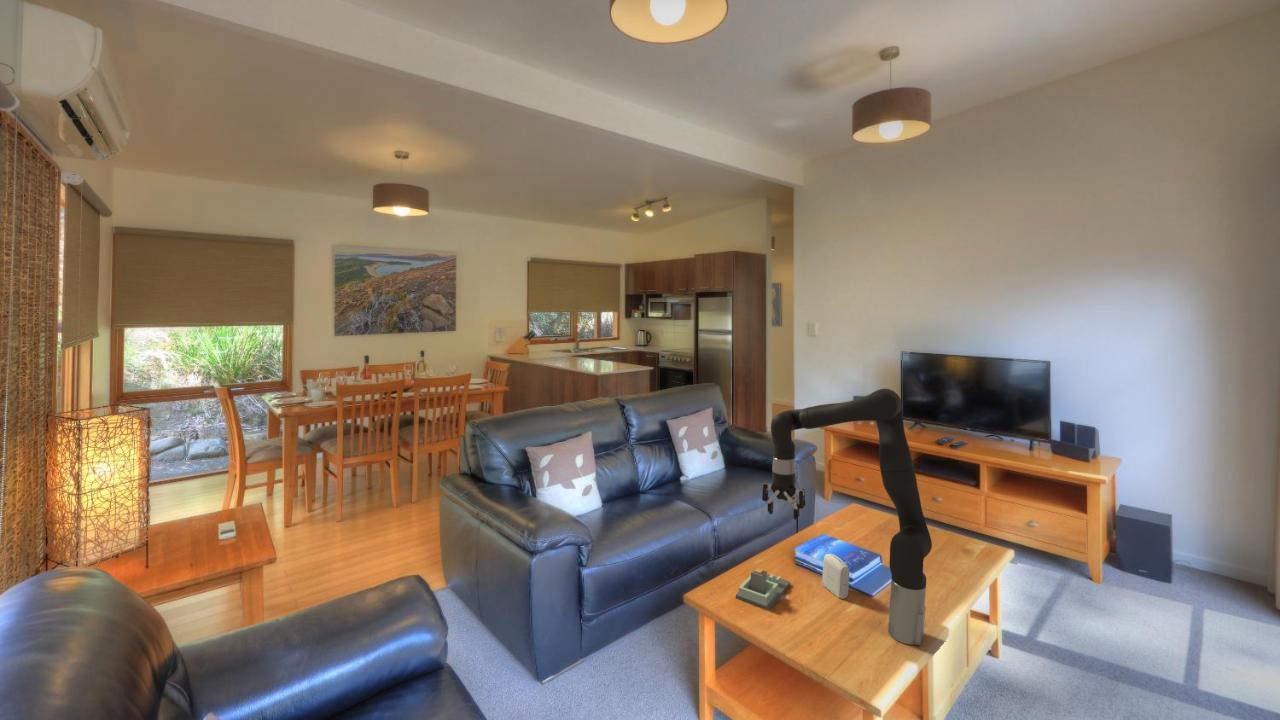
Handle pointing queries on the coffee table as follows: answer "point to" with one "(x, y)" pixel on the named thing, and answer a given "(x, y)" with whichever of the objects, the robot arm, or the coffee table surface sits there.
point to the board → (781, 589)
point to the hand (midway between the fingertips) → (783, 516)
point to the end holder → (757, 596)
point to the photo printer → (835, 576)
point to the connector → (758, 580)
